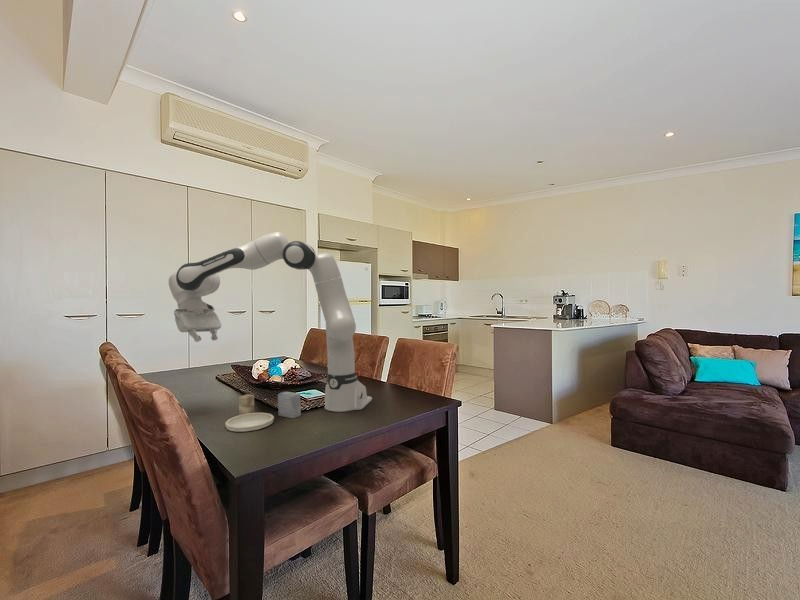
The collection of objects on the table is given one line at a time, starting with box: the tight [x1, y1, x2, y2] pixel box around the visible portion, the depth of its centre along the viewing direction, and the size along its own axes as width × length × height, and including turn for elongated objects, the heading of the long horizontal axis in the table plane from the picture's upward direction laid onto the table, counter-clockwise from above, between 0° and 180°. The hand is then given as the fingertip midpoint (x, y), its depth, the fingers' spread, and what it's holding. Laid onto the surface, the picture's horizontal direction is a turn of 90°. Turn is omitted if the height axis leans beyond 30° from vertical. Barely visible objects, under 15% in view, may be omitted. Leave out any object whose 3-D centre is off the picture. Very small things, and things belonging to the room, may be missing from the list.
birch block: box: [238, 393, 255, 415], centre depth 152 cm, size 4×4×7 cm
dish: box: [224, 412, 275, 433], centre depth 139 cm, size 16×16×2 cm
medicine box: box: [277, 391, 302, 419], centre depth 148 cm, size 8×4×9 cm, turn 59°
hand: (207, 340), depth 150 cm, fingers open, 8 cm apart
